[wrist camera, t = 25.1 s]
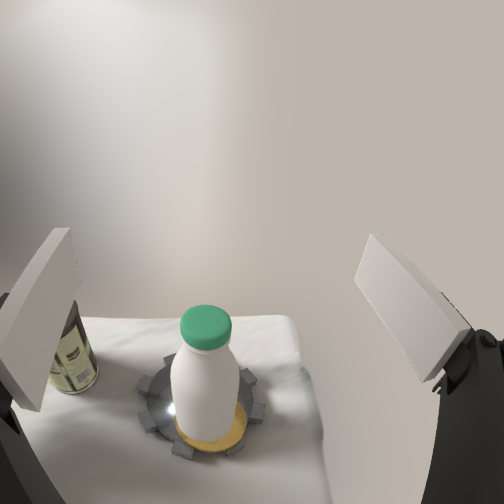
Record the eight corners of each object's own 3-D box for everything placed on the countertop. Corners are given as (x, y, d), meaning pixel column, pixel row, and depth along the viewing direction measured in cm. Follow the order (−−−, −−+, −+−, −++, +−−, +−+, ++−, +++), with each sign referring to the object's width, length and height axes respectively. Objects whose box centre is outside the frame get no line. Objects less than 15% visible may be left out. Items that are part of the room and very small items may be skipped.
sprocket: (174, 481, 29) (160, 448, 22) (120, 379, 42) (100, 320, 35) (288, 420, 40) (312, 369, 33) (219, 342, 53) (224, 282, 46)
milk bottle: (243, 429, 35) (267, 334, 25) (193, 452, 31) (184, 365, 21) (215, 390, 40) (222, 284, 30) (167, 408, 36) (150, 304, 26)
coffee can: (61, 344, 46) (39, 286, 39) (106, 356, 46) (88, 297, 39) (39, 384, 37) (6, 327, 30) (87, 402, 37) (57, 346, 30)
